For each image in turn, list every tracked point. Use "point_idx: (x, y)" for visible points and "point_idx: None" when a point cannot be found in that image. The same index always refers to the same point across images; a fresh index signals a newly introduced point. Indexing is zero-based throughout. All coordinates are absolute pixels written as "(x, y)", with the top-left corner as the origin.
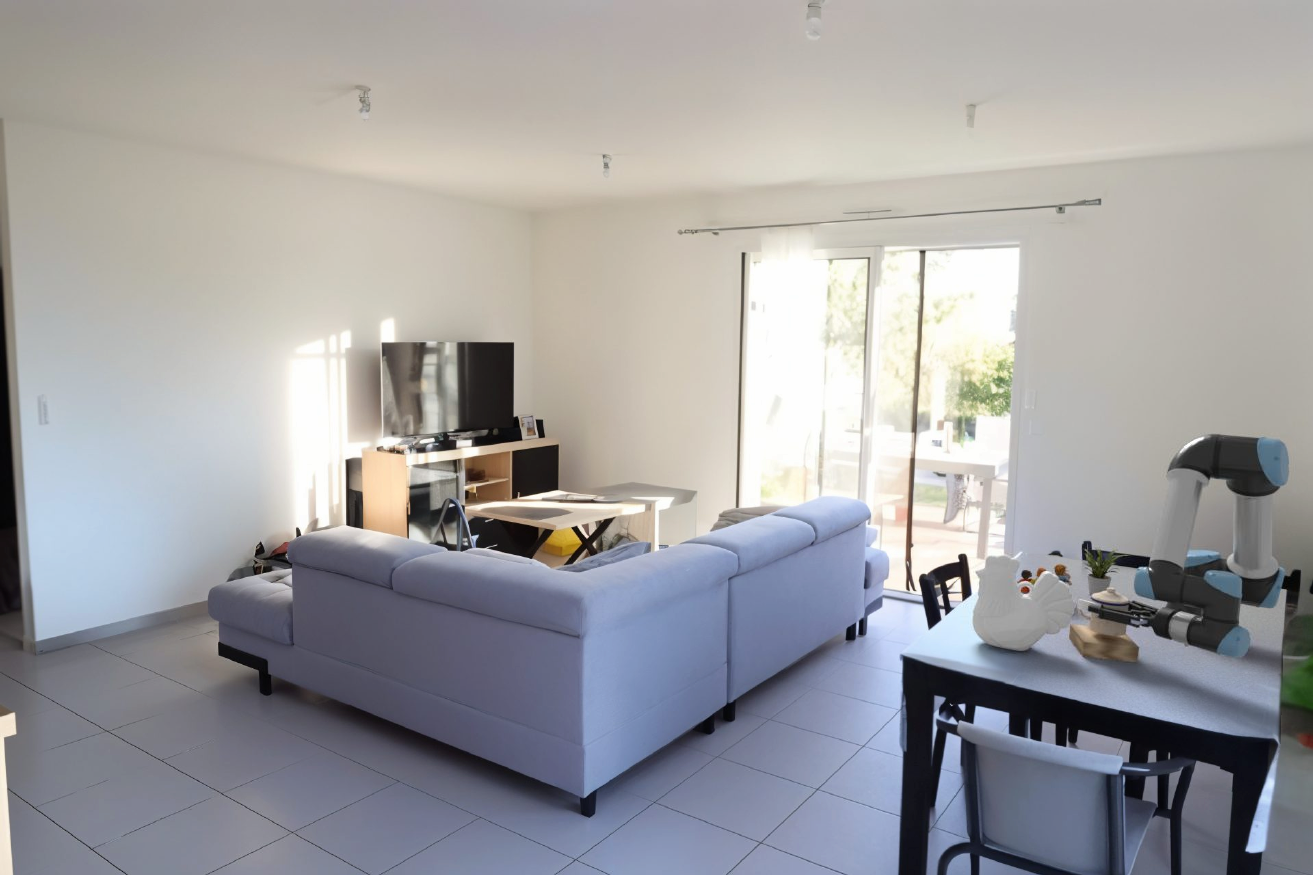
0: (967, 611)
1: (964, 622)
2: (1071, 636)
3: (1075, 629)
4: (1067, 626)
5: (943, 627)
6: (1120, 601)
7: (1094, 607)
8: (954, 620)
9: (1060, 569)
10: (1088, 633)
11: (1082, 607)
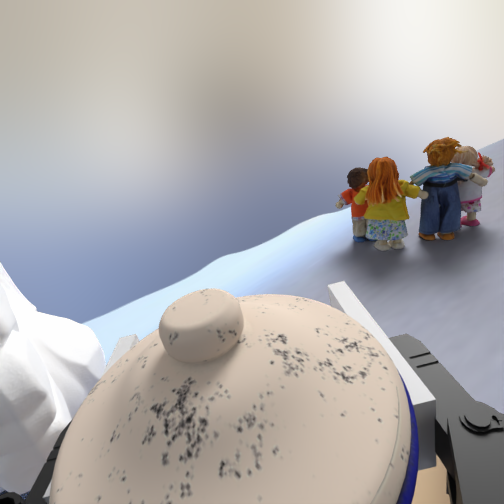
0: (220, 267)
1: (154, 303)
2: None
3: None
4: (23, 493)
5: (91, 320)
6: None
7: (45, 470)
8: (150, 296)
9: (436, 152)
10: None
11: None
